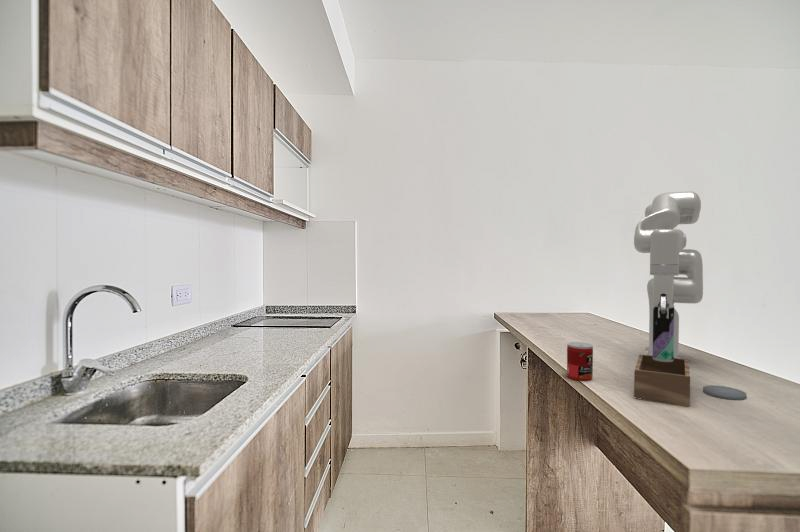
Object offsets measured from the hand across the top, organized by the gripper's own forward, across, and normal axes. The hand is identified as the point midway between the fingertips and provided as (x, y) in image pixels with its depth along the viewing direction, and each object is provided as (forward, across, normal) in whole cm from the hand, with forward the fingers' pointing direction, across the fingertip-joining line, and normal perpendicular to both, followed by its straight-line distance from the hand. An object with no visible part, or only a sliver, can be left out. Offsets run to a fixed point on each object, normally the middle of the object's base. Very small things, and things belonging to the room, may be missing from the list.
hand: (663, 329), depth 133 cm
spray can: (+10, 0, 0) cm, 10 cm away
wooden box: (+17, +6, 0) cm, 19 cm away
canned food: (+18, +4, -23) cm, 29 cm away
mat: (+18, 0, +15) cm, 23 cm away
